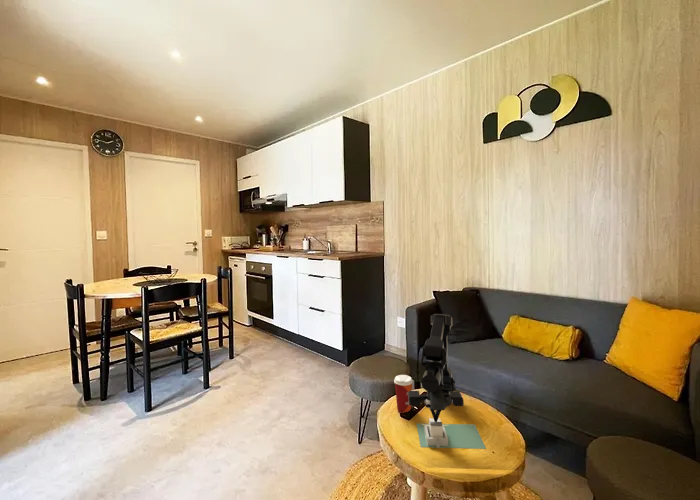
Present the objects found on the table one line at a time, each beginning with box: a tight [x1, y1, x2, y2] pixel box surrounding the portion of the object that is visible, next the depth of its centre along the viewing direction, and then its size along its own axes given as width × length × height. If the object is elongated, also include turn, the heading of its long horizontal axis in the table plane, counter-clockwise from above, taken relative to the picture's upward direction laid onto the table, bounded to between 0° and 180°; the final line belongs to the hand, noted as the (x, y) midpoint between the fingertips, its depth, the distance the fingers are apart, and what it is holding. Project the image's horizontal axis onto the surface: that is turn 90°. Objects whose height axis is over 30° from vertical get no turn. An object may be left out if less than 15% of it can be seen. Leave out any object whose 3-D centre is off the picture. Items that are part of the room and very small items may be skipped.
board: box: [416, 422, 487, 450], centre depth 121 cm, size 14×22×4 cm, turn 85°
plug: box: [428, 417, 443, 438], centre depth 119 cm, size 5×4×7 cm
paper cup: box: [393, 374, 413, 414], centre depth 140 cm, size 8×8×14 cm
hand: (435, 421), depth 119 cm, fingers closed
